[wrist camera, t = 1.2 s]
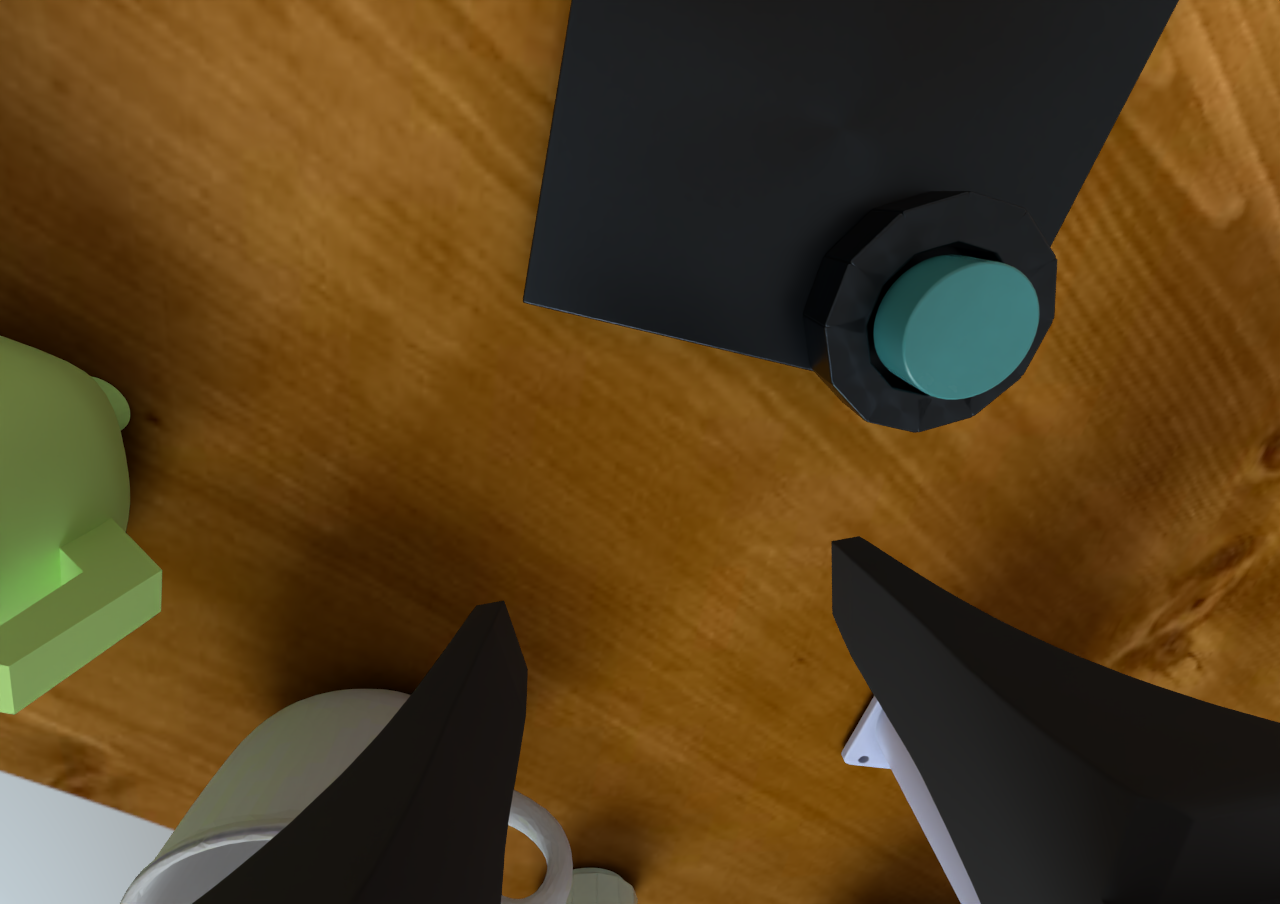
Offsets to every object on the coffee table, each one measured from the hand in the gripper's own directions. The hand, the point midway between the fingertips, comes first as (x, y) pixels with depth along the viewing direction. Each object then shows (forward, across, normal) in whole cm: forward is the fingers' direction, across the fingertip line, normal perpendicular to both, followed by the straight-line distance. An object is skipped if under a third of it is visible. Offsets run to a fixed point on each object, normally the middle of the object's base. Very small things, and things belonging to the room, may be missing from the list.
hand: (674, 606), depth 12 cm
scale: (+8, -7, -9) cm, 14 cm away
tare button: (+6, -9, -4) cm, 11 cm away
